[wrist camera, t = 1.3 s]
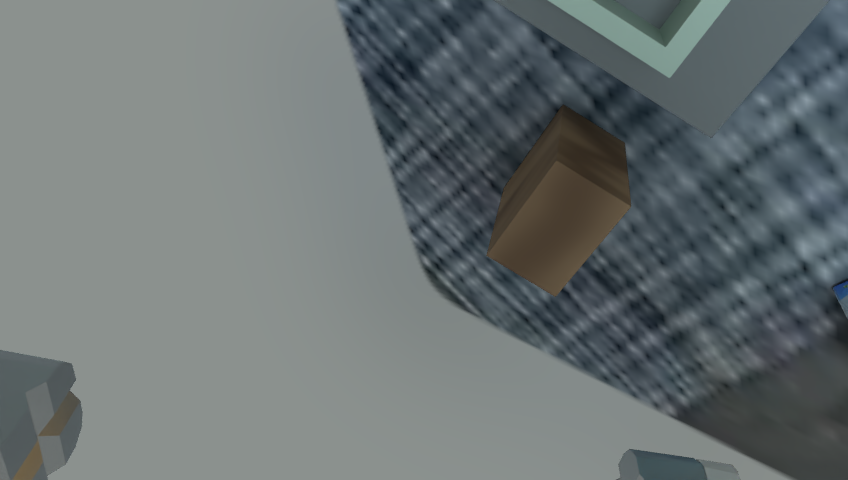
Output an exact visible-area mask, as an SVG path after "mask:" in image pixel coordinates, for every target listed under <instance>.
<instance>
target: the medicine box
mask: <svg viewBox="0 0 848 480" xmlns="http://www.w3.org/2000/svg"><path fill="white" fill-rule="evenodd" d="M833 291H834V293H835V295H836V297H837V299H838V302H839V303H840V305H841V307H842V309H843V311H844V313H845V315H846V317H847V319H848V281H846V282H844V283H841V284H839V285H837V286H835V287H833Z"/></svg>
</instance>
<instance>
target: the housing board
mask: <svg viewBox="0 0 848 480" xmlns="http://www.w3.org/2000/svg"><path fill="white" fill-rule="evenodd" d="M494 1H496V2H497V3H499V4H500V5H502V6H504V7H505V8H507V9H508V10H510V11H511V12H513V13H515V14H516V15H518V16H519V17H521V18H523V19H524V20H526V21H527V22H529V23H530V24H532V25H534V26H535V27H537V28H538V29H540V30H541V31H543V32H545V33H546V34H548V35H549V36H551V37H552V38H554V39H556V40H557V41H559V42H560V43H562V44H563V45H565V46H567V47H568V48H570V49H571V50H573V51H574V52H576V53H578V54H579V55H581V56H582V57H584V58H586V59H587V60H589V61H590V62H592V63H593V64H595V65H597V66H598V67H600V68H601V69H603V70H604V71H606V72H608V73H609V74H611V75H612V76H614V77H615V78H617V79H619V80H620V81H622V82H623V83H625V84H626V85H628V86H630V87H631V88H633V89H634V90H636V91H637V92H639V93H641V94H642V95H644V96H645V97H647V98H649V99H650V100H652V101H653V102H655V103H656V104H658V105H660V106H661V107H663V108H664V109H666V110H667V111H669V112H671V113H672V114H674V115H675V116H677V117H678V118H680V119H682V120H683V121H685V122H686V123H688V124H689V125H691V126H693V127H694V128H696V129H697V130H699V131H700V132H702V133H704V134H705V135H707V136H708V137H710V138H712V137H713V136H714V135H715V133H716V132H717V131H718V130H719V129H720V128H721V126H722V125H723V124H724V123H725V122H726V121H727V119H728V118H729V117H730V116H731V115H732V114H733V112H734V111H735V110H736V109H737V108H738V107H739V106H740V104H741V103H742V102H743V101H744V100H745V99H746V97H747V96H748V95H749V94H750V93H751V92H752V90H753V89H754V88H755V87H756V86H757V85H758V83H759V82H760V81H761V80H762V79H763V78H764V76H765V75H766V74H767V73H768V72H769V71H770V69H771V68H772V67H773V66H774V65H775V64H776V62H777V61H778V60H779V59H780V58H781V57H782V55H783V54H784V53H785V52H786V51H787V50H788V49H789V47H790V46H791V45H792V44H793V43H794V42H795V40H796V39H797V38H798V37H799V36H800V35H801V33H802V32H803V31H804V30H805V29H806V28H807V26H808V25H809V24H810V23H811V22H812V21H813V19H814V18H815V17H816V16H817V15H818V14H819V12H820V11H821V10H822V9H823V8H824V7H825V5H826V4H827V3H828V2H829V1H830V0H494Z"/></svg>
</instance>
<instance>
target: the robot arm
mask: <svg viewBox="0 0 848 480" xmlns="http://www.w3.org/2000/svg"><path fill="white" fill-rule="evenodd" d="M75 381H76V378H75V374H74V370H73V366H72V364H71V363H67V362H63V361H57V360H52V359H46V358H41V357H35V356H30V355H24V354H19V353H14V352H8V351H3V350H0V480H48V477H47V476H48V475H49V474H51V473H52V472H54V471H56V470H57V469H59V468H60V467H62V466H64V465H65V464H66V463H67V461H68V459H69V458H70V456H71V454H72V452H73V450H74V448H75V447H76V443H77V440H78V437H79V434H80V431H81V427H82V408H81V402H80V400H79V399H78V398H77V397H76V396H75V395H74V394H73V393H72V392H71V391H70V388H71V387H72V386H73V384H74V382H75ZM619 471H620V478H619V479H617V480H740V478H739V474H738V471H737V470H736V469H735V468H734V466H733V465H730V464H724V463H717V462H711V461H704V460H695V459H694V458H689V457H682V456H674V455H667V454H661V453H654V452H647V451H640V450H633V449H629V450H628V451H626V452H625V453H624V454H623V456H622V458H621V461H620V463H619Z"/></svg>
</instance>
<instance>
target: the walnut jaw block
mask: <svg viewBox="0 0 848 480" xmlns="http://www.w3.org/2000/svg"><path fill="white" fill-rule="evenodd" d="M630 207H631V200H630V190H629V180H628V171H627V161H626V151H625V143H624V142H622V141H621V140H619V139H618V138H616V137H614V136H613V135H611V134H610V133H608V132H606V131H605V130H603V129H602V128H600V127H598V126H597V125H595V124H594V123H592V122H591V121H589V120H587V119H586V118H584V117H583V116H581V115H579V114H578V113H576V112H575V111H573V110H571V109H570V108H568V107H567V106H565V105H562V106H561V108H560V109H559V111H558V112H557V114H556V115H555V116H554V118H553V119H552V121H551V122H550V123H549V125H548V126H547V128H546V129H545V131H544V132H543V133H542V135H541V136H540V138H539V139H538V140H537V142H536V143H535V145H534V146H533V148H532V149H531V150H530V152H529V153H528V155H527V156H526V157H525V159H524V160H523V162H522V163H521V164H520V166H519V167H518V169H517V170H516V172H515V173H514V174H513V176H512V177H511V179H510V180H509V181H508V183H507V184H506V186H505V187H504V189H503V193H502V197H501V201H500V205H499V209H498V213H497V217H496V221H495V224H494V228H493V232H492V236H491V240H490V244H489V248H488V252H487V255H486V256H488V257H490V258H491V259H493V260H495V261H496V262H498V263H500V264H501V265H503V266H505V267H506V268H508V269H510V270H511V271H513V272H515V273H516V274H518V275H520V276H521V277H523V278H525V279H526V280H528V281H530V282H531V283H533V284H535V285H536V286H538V287H540V288H541V289H543V290H545V291H546V292H548V293H550V294H551V295H553V296H555V297H556V296H557V294H558V293H559V292H560V291H561V290H562V288H563V287H564V286H565V285H566V284H567V282H568V281H569V280H570V279H571V278H572V276H573V275H574V274H575V273H576V272H577V271H578V269H579V268H580V267H581V266H582V265H583V263H584V262H585V261H586V260H587V259H588V257H589V256H590V255H591V254H592V253H593V251H594V250H595V249H596V248H597V247H598V246H599V244H600V243H601V242H602V241H603V240H604V238H605V237H606V236H607V235H608V234H609V232H610V231H611V230H612V229H613V228H614V226H615V225H616V224H617V223H618V222H619V221H620V219H621V218H622V217H623V216H624V215H625V213H626V212H627V211H628V210H629V209H630Z"/></svg>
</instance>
